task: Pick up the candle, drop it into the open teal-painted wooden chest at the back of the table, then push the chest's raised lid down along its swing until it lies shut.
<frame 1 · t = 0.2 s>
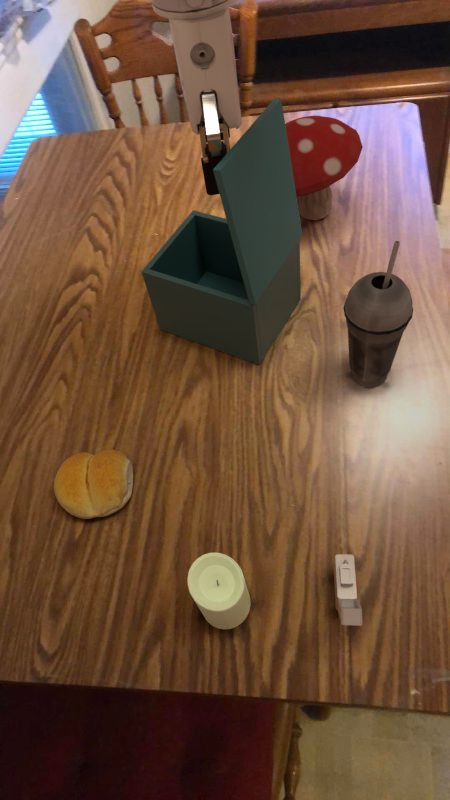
hand: (219, 164, 61), 22 cm above the table, tool pointing down, fingers open, 9 cm apart
chest: (230, 314, 79), on the table
beverage cup: (368, 374, 70), on the table
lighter: (344, 605, 55), on the table
candle: (226, 604, 57), on the table
decorative mushroom: (306, 215, 89), on the table
lid: (264, 207, 60), point 19 cm above the table, hinge at 82.5°, touching gripper
bread roll: (99, 487, 66), on the table
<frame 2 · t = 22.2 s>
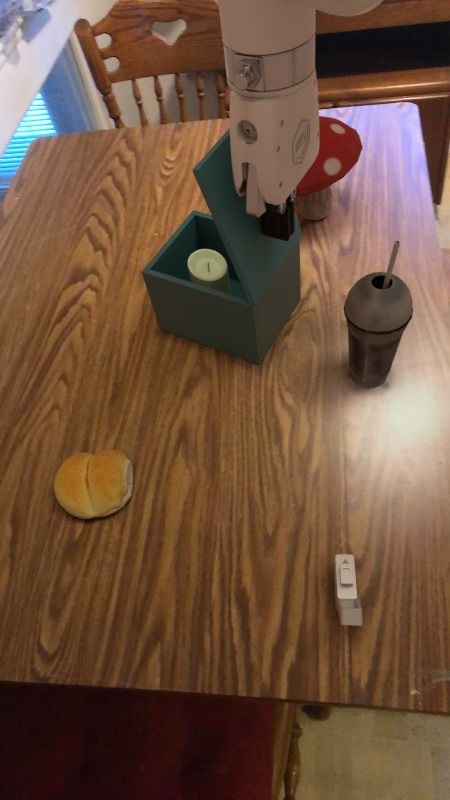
hand: (278, 233, 62), 16 cm above the table, tool pointing down, fingers closed
candle: (215, 305, 79), point 1 cm above the table, touching chest
lid: (254, 206, 61), point 19 cm above the table, hinge at 74.0°, touching gripper
everything else where it was.
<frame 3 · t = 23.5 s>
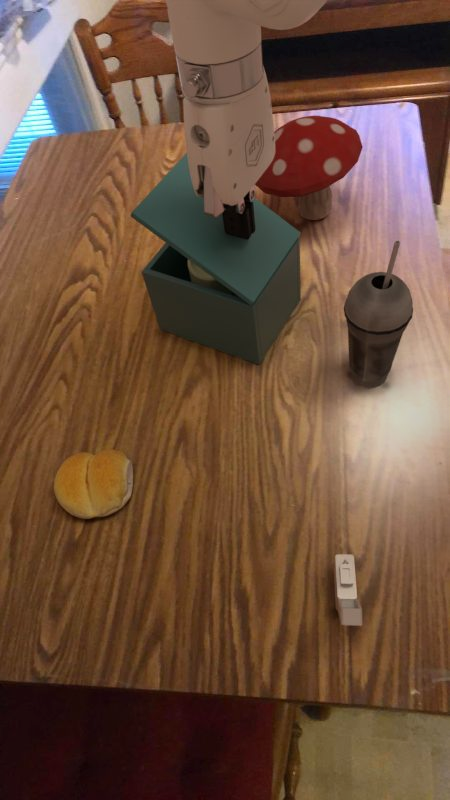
hand: (240, 232, 65), 15 cm above the table, tool pointing down, fingers closed
lid: (220, 225, 66), point 15 cm above the table, hinge at 30.3°, touching gripper
everything else where it was.
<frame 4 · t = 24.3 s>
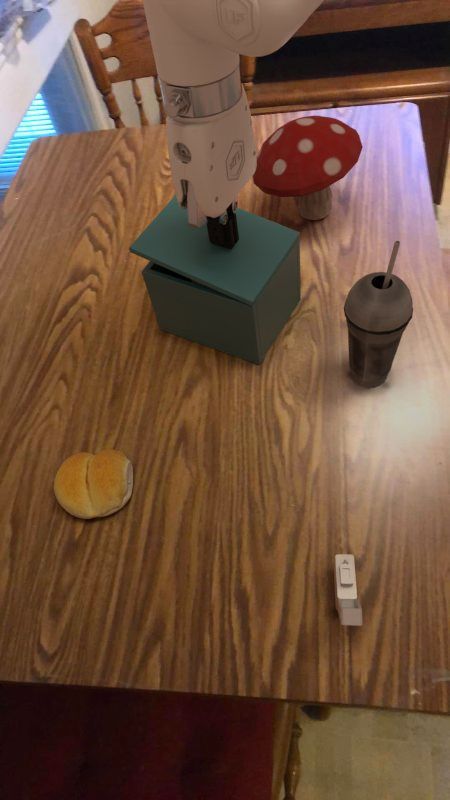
hand: (224, 241, 68), 13 cm above the table, tool pointing down, fingers closed
lid: (215, 242, 68), point 13 cm above the table, hinge at 9.4°, touching gripper
everything else where it was.
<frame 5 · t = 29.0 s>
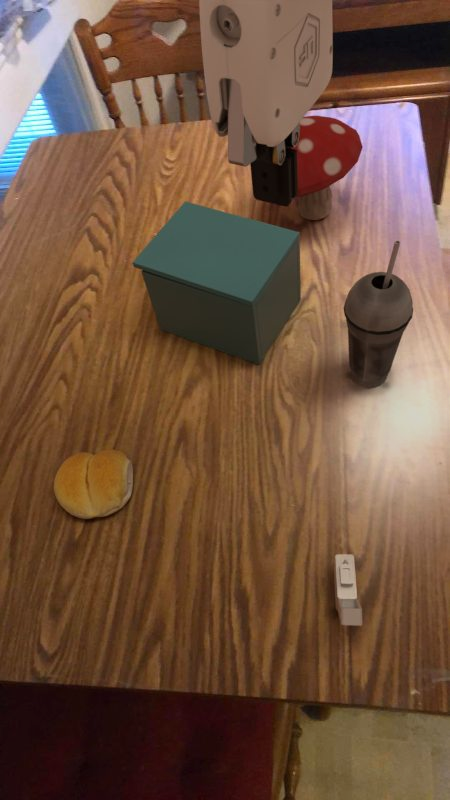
hand: (275, 196, 46), 29 cm above the table, tool pointing down, fingers closed
lid: (216, 249, 69), point 11 cm above the table, hinge at 1.1°
everything else where it was.
at the end: candle inside the target area in the chest (2.4 cm from its centre), point 0.6 cm above the chest's base; lid at +1° (first picture: +82°) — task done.
